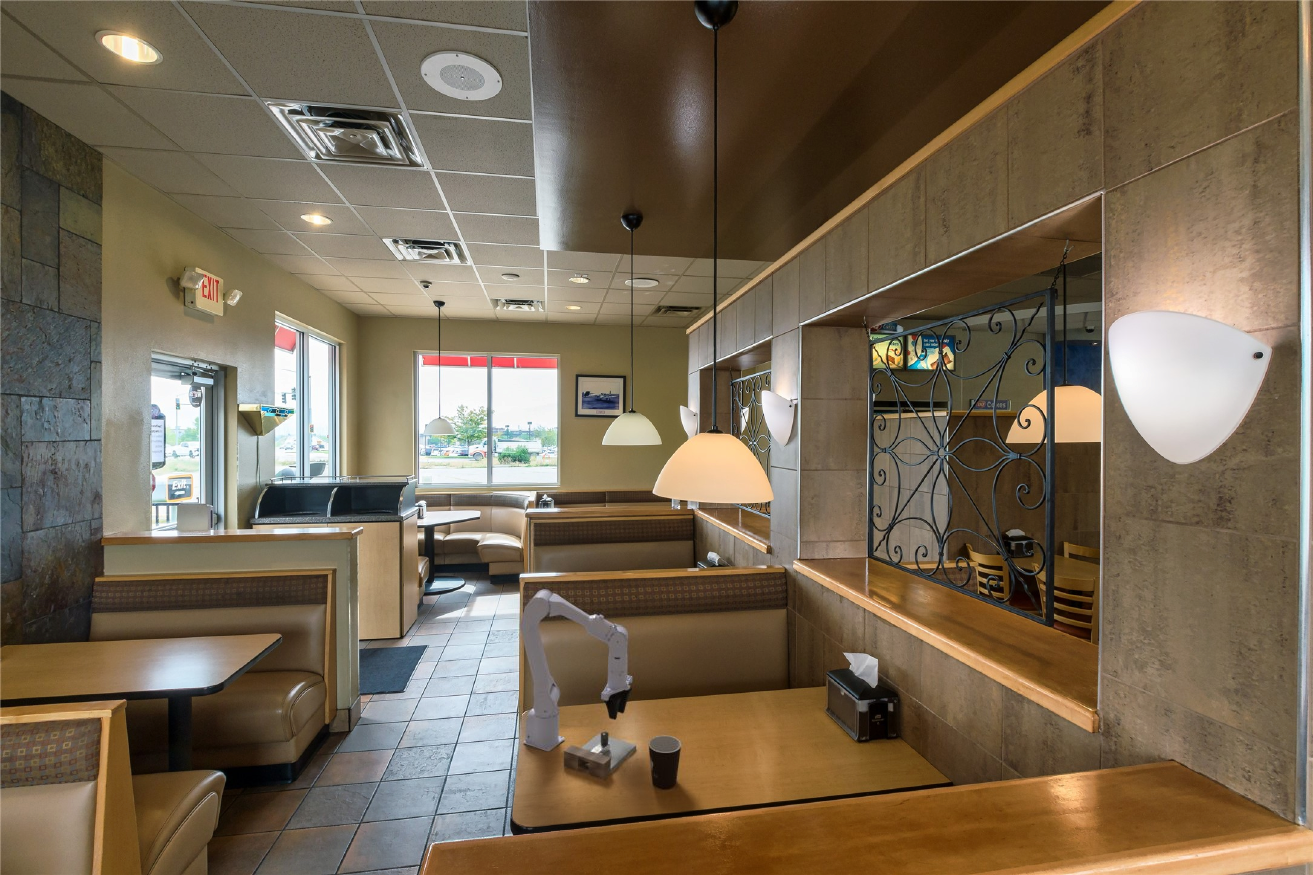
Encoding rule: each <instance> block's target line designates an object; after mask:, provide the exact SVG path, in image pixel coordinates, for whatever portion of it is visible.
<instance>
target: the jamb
mask: <svg viewBox="0 0 1313 875" xmlns="http://www.w3.org/2000/svg"><path fill="white" fill-rule="evenodd" d="M563 767H564V768H568V769H571V770H573V771H576V772H580V773H581V774H585V775H588V776H590V777H593V778H596V779H599V780H602V781H604V780H605V779H606V778H607V777H609V775H611V773H612V772H611V758H610V757H607V756H604V755H601V754H598V753H595V752H592V751H589V750H585V749H582V747H579V746H576V745H573V744H572V745H570V746H569V747H567V748H566V749H564V750H563Z"/></svg>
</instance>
